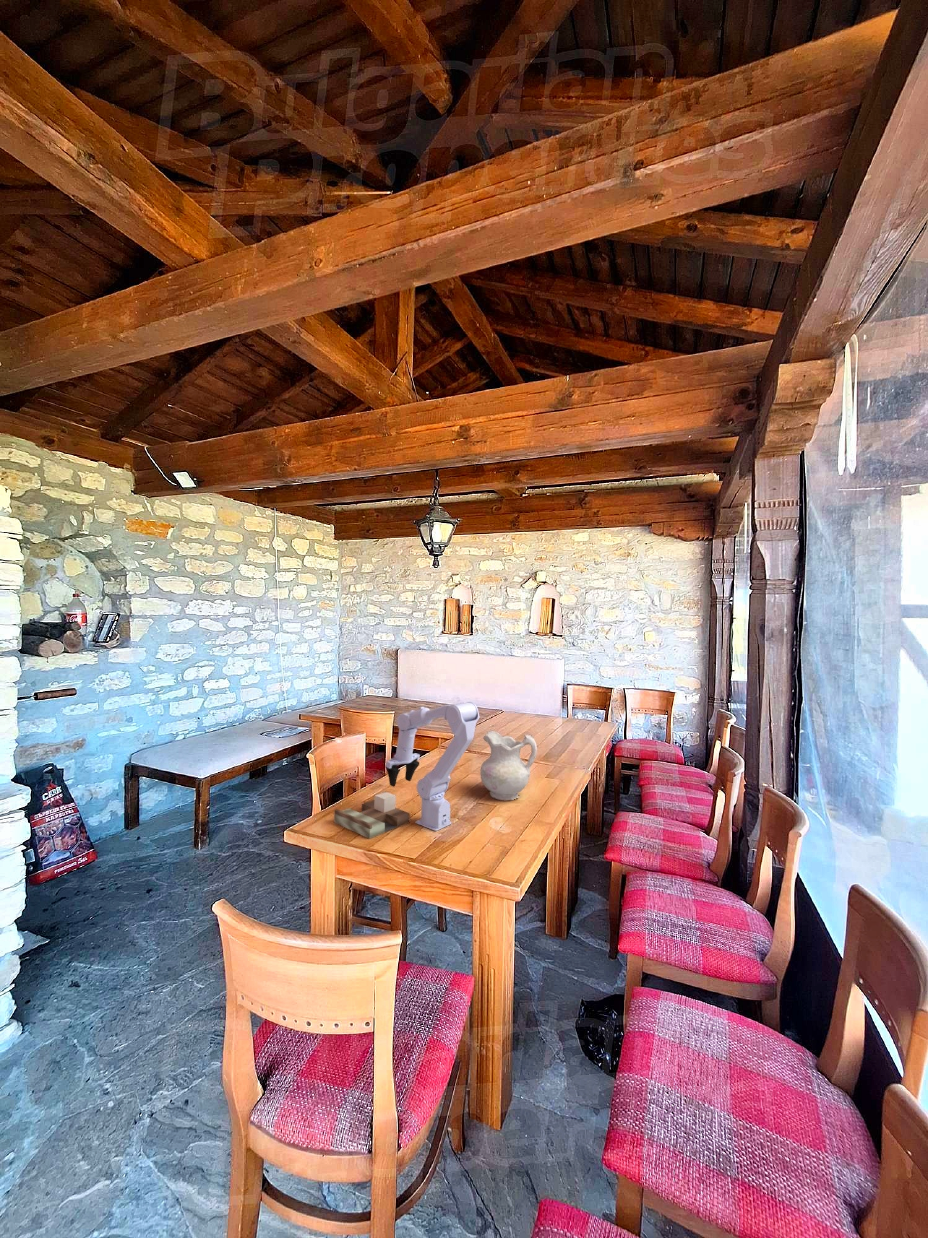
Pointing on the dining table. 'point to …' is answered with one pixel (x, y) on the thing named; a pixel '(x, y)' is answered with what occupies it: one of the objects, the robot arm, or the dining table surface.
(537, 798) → the dining table surface
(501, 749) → the ceramic pitcher
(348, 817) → the box
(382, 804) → the cream block
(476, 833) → the dining table surface
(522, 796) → the dining table surface
